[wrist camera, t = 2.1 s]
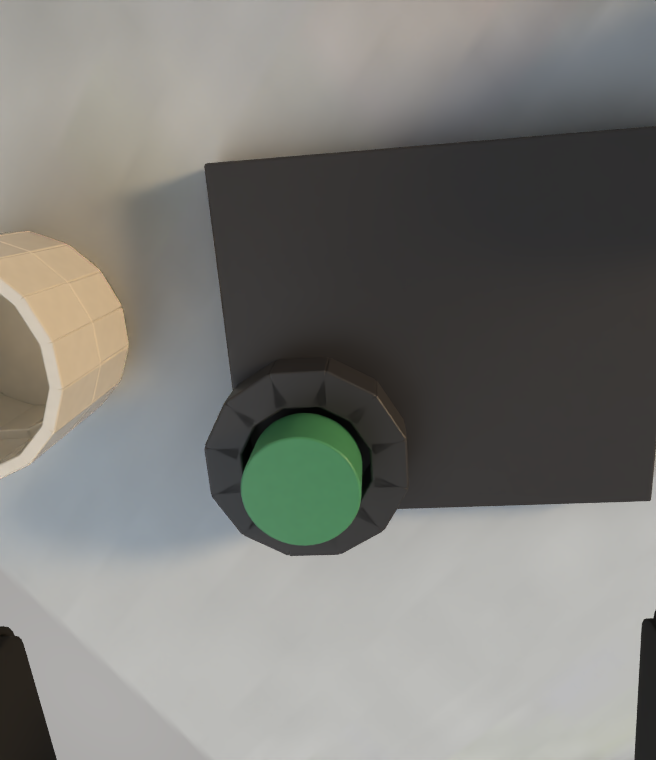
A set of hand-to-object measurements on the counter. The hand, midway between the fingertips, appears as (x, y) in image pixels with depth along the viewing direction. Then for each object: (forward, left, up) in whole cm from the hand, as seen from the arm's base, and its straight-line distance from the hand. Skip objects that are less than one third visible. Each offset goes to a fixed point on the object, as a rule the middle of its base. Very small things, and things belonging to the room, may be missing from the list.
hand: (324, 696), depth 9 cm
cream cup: (-11, +3, -14) cm, 18 cm away
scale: (+3, +2, -14) cm, 14 cm away
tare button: (-2, -1, -11) cm, 11 cm away
